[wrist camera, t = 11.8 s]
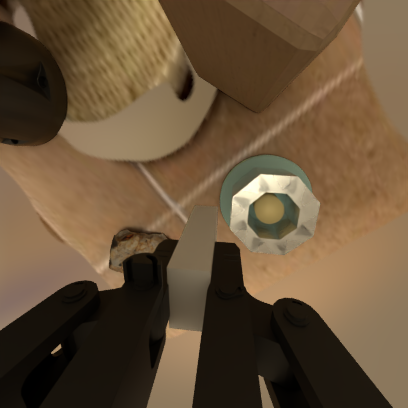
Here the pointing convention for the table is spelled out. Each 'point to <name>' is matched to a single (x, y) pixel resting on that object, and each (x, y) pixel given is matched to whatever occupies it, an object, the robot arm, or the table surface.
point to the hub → (269, 202)
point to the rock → (131, 246)
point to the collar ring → (292, 218)
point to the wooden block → (255, 41)
